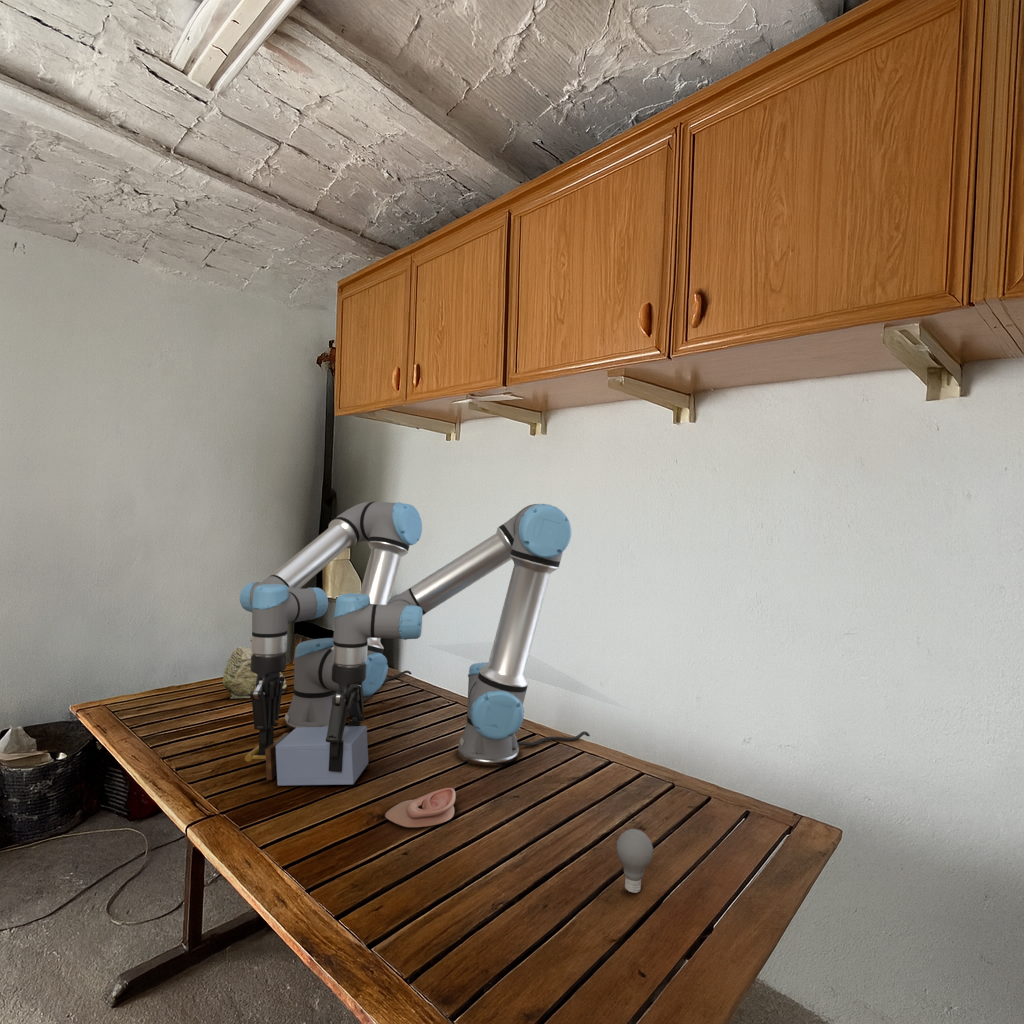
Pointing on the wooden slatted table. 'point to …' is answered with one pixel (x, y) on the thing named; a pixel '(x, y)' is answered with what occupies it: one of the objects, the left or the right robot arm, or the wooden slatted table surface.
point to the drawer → (267, 757)
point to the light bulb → (634, 857)
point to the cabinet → (320, 757)
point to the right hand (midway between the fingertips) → (344, 759)
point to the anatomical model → (424, 809)
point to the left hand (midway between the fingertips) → (265, 756)
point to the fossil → (241, 674)
